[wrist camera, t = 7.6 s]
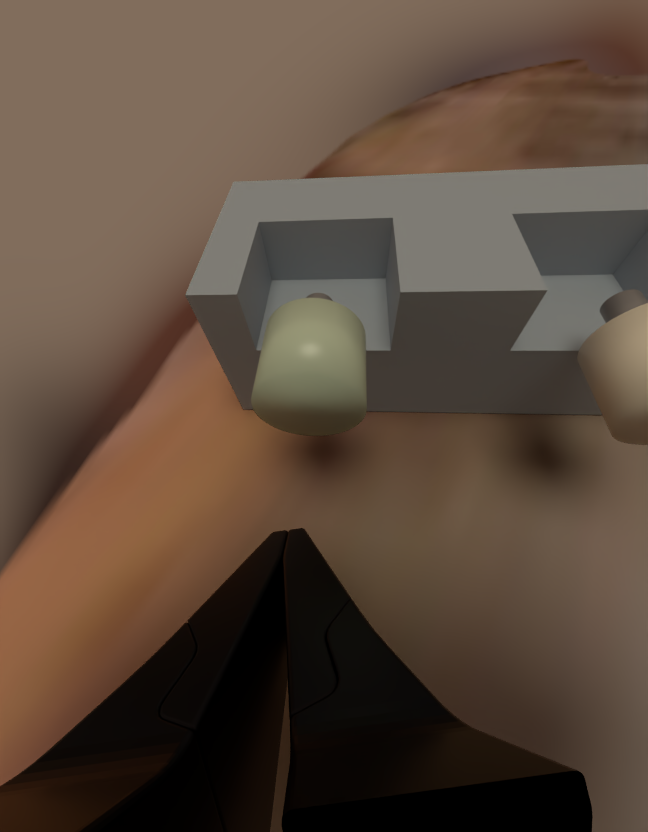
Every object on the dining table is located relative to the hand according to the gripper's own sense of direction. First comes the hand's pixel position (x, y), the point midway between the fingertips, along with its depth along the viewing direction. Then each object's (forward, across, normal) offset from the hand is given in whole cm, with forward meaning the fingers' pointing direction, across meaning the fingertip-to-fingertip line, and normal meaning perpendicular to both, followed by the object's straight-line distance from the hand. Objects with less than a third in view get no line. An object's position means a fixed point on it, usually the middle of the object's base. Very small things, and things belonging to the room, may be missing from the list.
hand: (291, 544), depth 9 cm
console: (+12, -13, -3) cm, 18 cm away
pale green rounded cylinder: (+5, -1, -4) cm, 6 cm away
